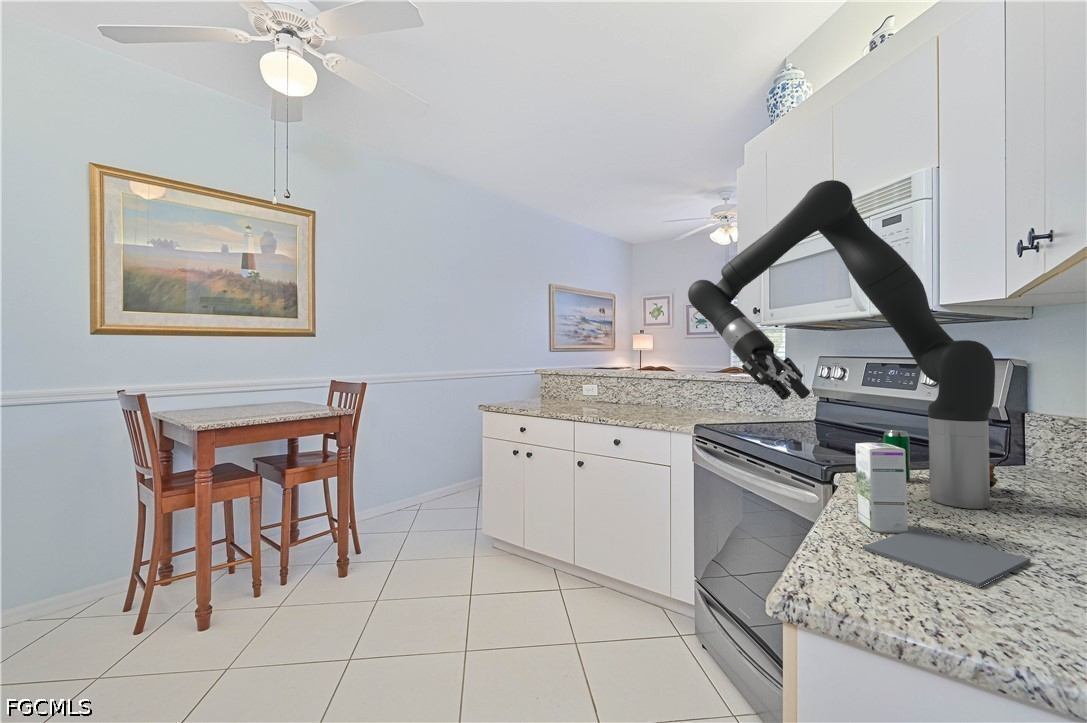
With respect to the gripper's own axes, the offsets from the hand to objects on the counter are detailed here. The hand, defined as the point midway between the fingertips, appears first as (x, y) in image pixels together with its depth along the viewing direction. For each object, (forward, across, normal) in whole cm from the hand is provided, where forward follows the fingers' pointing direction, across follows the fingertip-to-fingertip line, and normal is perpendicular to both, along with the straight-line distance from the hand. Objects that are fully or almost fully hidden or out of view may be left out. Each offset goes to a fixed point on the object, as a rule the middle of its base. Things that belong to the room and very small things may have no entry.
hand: (796, 396), depth 95 cm
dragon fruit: (+25, +42, +7) cm, 49 cm away
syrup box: (+27, 0, +5) cm, 27 cm away
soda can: (+15, +39, +16) cm, 45 cm away
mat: (+34, -5, -3) cm, 35 cm away
